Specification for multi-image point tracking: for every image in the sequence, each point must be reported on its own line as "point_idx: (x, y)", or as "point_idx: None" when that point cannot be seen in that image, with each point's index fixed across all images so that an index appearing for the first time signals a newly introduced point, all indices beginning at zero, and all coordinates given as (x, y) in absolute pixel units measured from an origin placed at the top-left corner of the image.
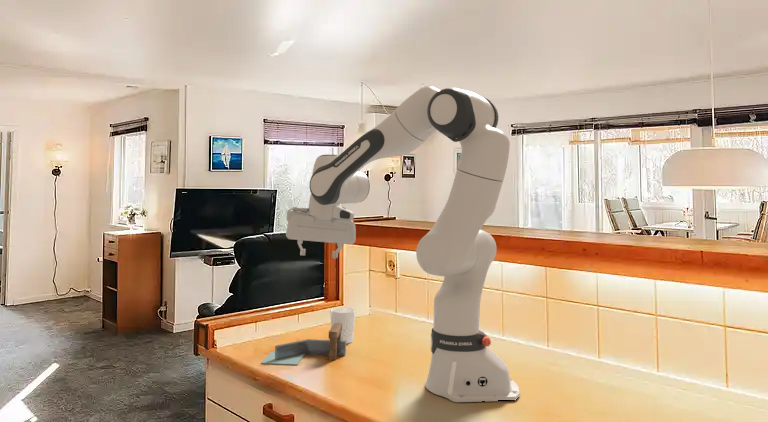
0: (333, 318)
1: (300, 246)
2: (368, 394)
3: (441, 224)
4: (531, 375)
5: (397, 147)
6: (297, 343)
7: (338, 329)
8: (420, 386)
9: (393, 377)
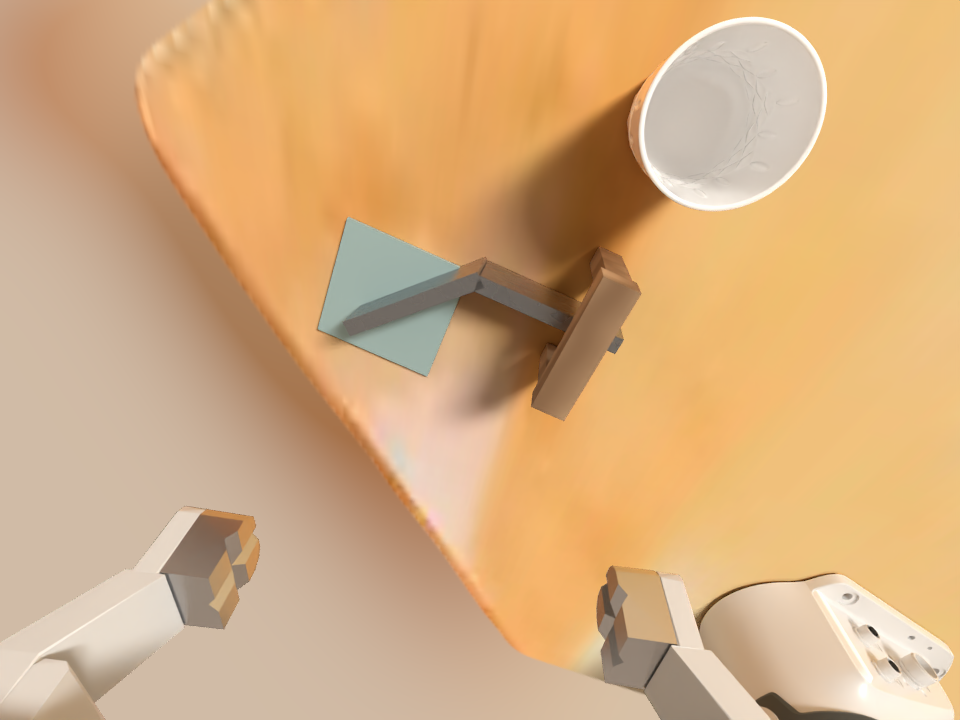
0: (639, 158)
1: (116, 667)
2: (558, 592)
3: None
4: None
5: None
6: (426, 308)
7: (582, 390)
8: (700, 599)
9: (667, 537)
